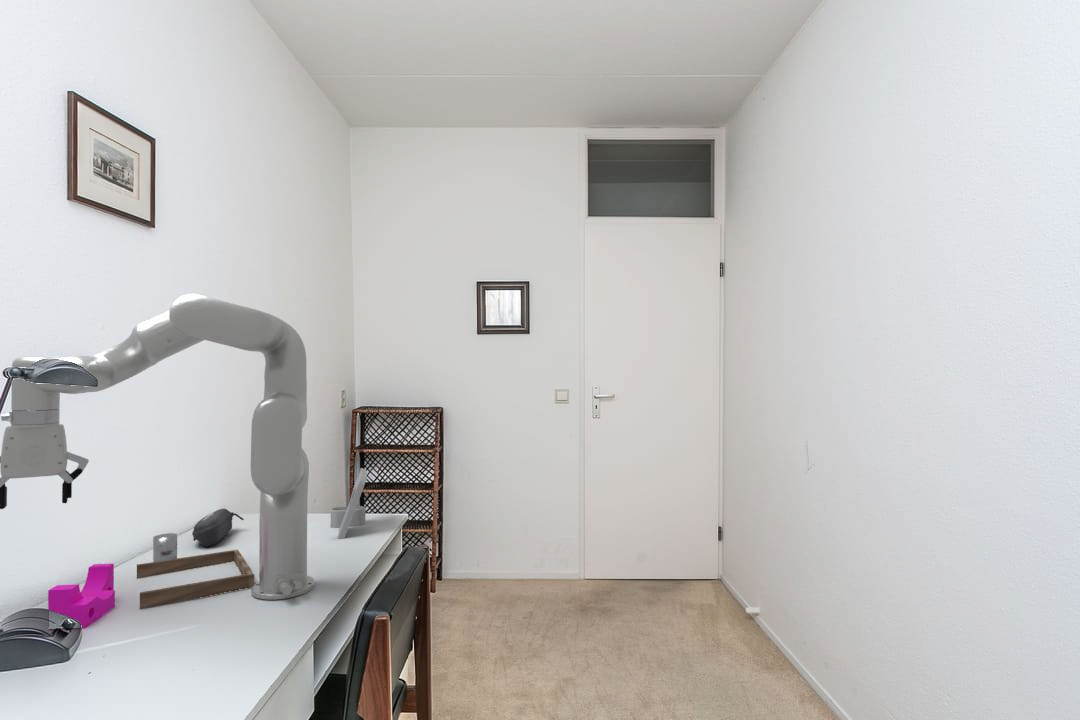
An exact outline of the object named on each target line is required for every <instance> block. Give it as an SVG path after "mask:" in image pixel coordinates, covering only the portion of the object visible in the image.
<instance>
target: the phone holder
mask: <svg viewBox="0 0 1080 720" xmlns="http://www.w3.org/2000/svg"><path fill="white" fill-rule="evenodd" d="M367 479H368V473H367V469H366V468H363V467H360V469H359V471H358V474H357V476H356V479H355V483H354V486H353V489H352V493H351V497H350V500H349V502H348V504H347V506H340V507H339V506H338V507H333V508H331V509H330V528H332V529H338V536H337V540H344V539H346V535H347V533H348V530H349V528H353V527H362V526H365V525H366V507H365V506H362V505H358V503H359V501H360V498H361V495H362V492H363V490H364V488H365V485H366V482H367Z"/></svg>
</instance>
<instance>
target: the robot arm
mask: <svg viewBox="0 0 1080 720" xmlns="http://www.w3.org/2000/svg"><path fill="white" fill-rule="evenodd" d="M203 341H208V342H212V343H216V344H219V345H224V346H228V347H231V348H235V349H239V350H243V351H248V352H255V353H256V352H257V353H261V354H263V357H264V360H265V366H264V375H263V376H264V377H263V379H264V386H263V387H264V388H263V389H264V390H263V399H262V400H260V402H259V403H258V404H257V405H256V407H255V409H254V411H253V414H252V420H251V434H250V435H251V436H250V439H251V440H250V477H251V481H252V482H253V485H254V486H255V487H256V489H258V491H259V492H260V497H259V553H258V554H259V559H258V561H259V562H258V563H259V573H258V574H259V579H258V580H259V581H257V582H256V583H254V585H253V586H252V588H250V590H251V595H252V597H254V598H257V599H260V600H268V601H269V600H270V601H271V600H275V601H276V600H285V599H290V598H291V599H292V598H295V597H299V596H302V595H304V594H307V593H309V592H310V591H312V590H313V589H314V587H315V579H314V578H313V577H312V576H308V494H309V493H308V491H309V475H310V474H309V473H310V472H309V471H310V465H309V464H310V463H309V459H308V454H307V453H306V452H305V450H304V449H303V447H302V443H303V442H302V440H303V428H304V427H305V425H306V423H307V419H308V408H307V406H308V403H307V402H308V401H307V400H308V399H307V396H308V395H307V394H308V391H307V390H308V389H307V388H308V387H307V386H308V381H307V379H308V377H307V352H306V348H305V344H304V341H303V339H302V337H301V336H300V334H299V333H298V332H297V330H296V329H295V328H294V327H293V326H292V325H290V324H289V323H287V322H286V321H284V320H283V319H280V318H279V317H277V316H274V315H273V314H271V313H268V312H265V311H261V310H259V309H255V308H251V307H247V306H243V305H239V304H236V303H233V302H232V303H231V302H228V301H225V300H221V299H216V298H213V297H211V296H207V295H204V294H201V293H200V294H199V293H193V292H191V293H187V294H183V295H181V296H180V297H178V298H176V299H175V300H173V302H172V304H171V305H170V307H169V309H168V310H166V311H164V312H162V313H160V314H157V315H155V316H152V317H151V318H148V319H147V320H144V321H142V322H139V323H138V324H136V325H135V326H134V327H133V328H132V331H131V333H130V335H129V336H128V337H127V338H126V339H124V340H122V341H120V343H117V344H116V345H114V346H112V347H109V348H107V349H105V350H103V351H101V352H98V353H96V354H93V355H91V356H90V355H71V356H70V355H69V356H62V357H61V356H60V357H52V356H51V357H49V356H22V357H21V356H19V357H17V358H14V360H13V361H12V364H11V368H12V367H28V366H30V365H32V364H34V363H35V362H37V361H39V360H42V359H59V360H64V361H68V362H72V363H75V364H77V365H79V366H81V367H83V368H84V369H85V370H87V371H88V372H90V373H91V374H92V375H93V376H94V377H96V378H97V380H98V386H97V387H84V386H71V385H56V384H36V383H31V382H26V381H24V380H22V379H14V380H13V382H12V381H11V397H10V398H11V400H10V401H11V403H10V404H11V405H10V406H11V411H9V412H7V413H1V418H0V419H1V422H5V421H6V422H9V423H10V425H9V426H6V427H5V428H4V429H5V430H4V432H3V433H4V434H3V438H2V445H1V455H0V475H1V477H0V510H4V509H6V507H7V506H8V497H7V496H8V487H7V486H6V483H7V481H9V480H10V479H26V478H38V477H53V476H59V477H60V479H62V480H63V482H62V485H61V486H62V489H61V493H62V494H61V495H62V496H61V503H62V504H67V503H68V500H69V499H72V494H73V493H72V492H73V491H72V489H73V487H72V486H73V485H72V484H73V483H72V482H74V481H75V480H76V479H77V478H78V477H79V476H80V475H81V474H82V473H83V472H84V470H85V468H86V467H87V465H88V463H89V462H90V461H89V459H88V458H86V457H83V456H82V455H81V456H80V455H77V454H75V453H72V452H70V451H68V447H67V436H66V435H67V434H66V431H65V426H64V424H61V423H60V408H61V406H60V398H61V397H60V396H61V395H60V394H69V395H70V394H71V395H72V394H73V395H77V394H78V395H79V394H85V393H97V392H100V391H101V392H102V391H104V390H106V389H109V388H111V387H114V386H116V385H118V384H120V383H122V382H124V381H126V380H129V379H130V378H133V377H134V376H135V377H136V376H137V375H138V374H140V373H142V372H144V371H145V370H147V369H149V368H151V367H153V366H155V365H157V364H158V363H159V362H161V361H163V360H165V359H167V358H169V357H171V356H173V355H176V354H177V353H180V352H182V351H184V350H186V349H189V348H190V347H193V346H194V345H197V344H200V343H202V342H203ZM68 460H69V461H72V462H74V463H77V464H78V465H77V467H76V469H74V470H73V471H72V472H71V473H70V472H69V471H68V470H67V466H68Z"/></svg>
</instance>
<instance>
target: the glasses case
mask: <svg viewBox="0 0 1080 720" xmlns="http://www.w3.org/2000/svg"><path fill="white" fill-rule="evenodd" d="M234 516H236V518H238V519H240V520H241V521H244V520H245V519H244V518H243V517H242V516H240V515H239V514H238V513H234V512H231V511H230V510H228V509H227V508H220V509H217V510H216V511H213V512H211V513H208V514H207V515H206V516H204V517H202V518H201V519H199V521H197V522H196V523H195V524H194V526H193V531H192V533H191V535H192V537H193V542H195V541H198V543H199V544H200V545H201V546H202V547H204V548H207V547H210V546H213V545H215V544H217V543H218V542H220V541H221V540H222V538H224V537H226V535H227V534H228V533H229V532H230V531H232V529H233V517H234Z"/></svg>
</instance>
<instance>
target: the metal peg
mask: <svg viewBox="0 0 1080 720" xmlns="http://www.w3.org/2000/svg"><path fill="white" fill-rule="evenodd" d="M152 539H153V540H152V547H153V548H152V562H157V561H164V560H171V559H177V558H178V534H177V533H172V532H169V533H162V534H161V533H160V534H157V535H154V536H153V538H152Z"/></svg>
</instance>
